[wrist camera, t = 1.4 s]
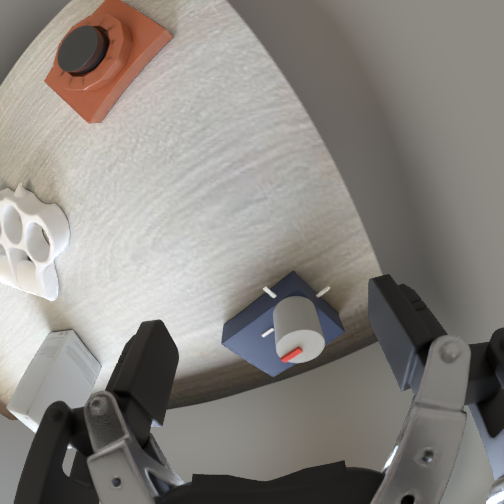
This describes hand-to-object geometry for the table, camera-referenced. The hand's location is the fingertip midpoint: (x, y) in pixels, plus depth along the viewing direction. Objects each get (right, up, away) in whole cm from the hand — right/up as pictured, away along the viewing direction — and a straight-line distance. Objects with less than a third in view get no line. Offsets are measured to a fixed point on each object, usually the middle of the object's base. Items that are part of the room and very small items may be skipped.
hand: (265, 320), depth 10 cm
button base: (-13, +20, +7) cm, 25 cm away
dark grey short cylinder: (-13, +18, +4) cm, 23 cm away
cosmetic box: (-27, -12, +23) cm, 38 cm away
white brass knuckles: (-29, +5, +15) cm, 33 cm away
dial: (+3, -3, +15) cm, 16 cm away
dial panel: (+3, -4, +19) cm, 19 cm away
